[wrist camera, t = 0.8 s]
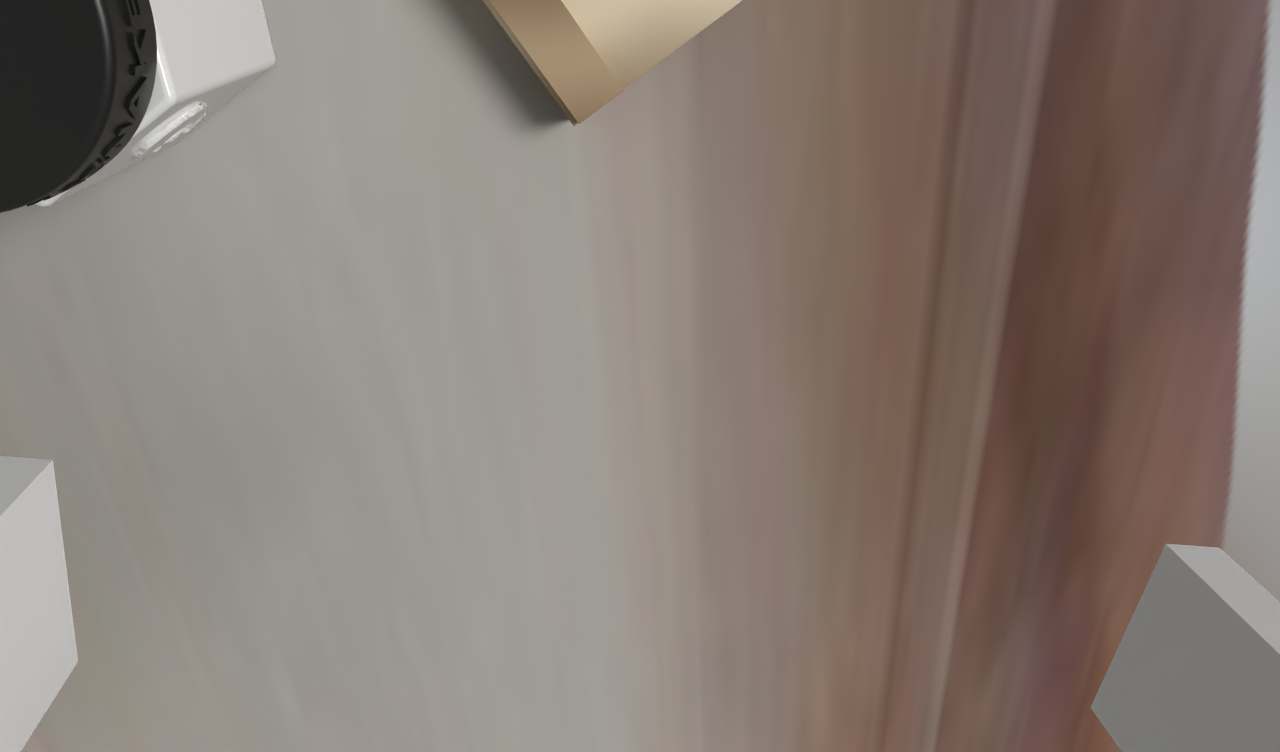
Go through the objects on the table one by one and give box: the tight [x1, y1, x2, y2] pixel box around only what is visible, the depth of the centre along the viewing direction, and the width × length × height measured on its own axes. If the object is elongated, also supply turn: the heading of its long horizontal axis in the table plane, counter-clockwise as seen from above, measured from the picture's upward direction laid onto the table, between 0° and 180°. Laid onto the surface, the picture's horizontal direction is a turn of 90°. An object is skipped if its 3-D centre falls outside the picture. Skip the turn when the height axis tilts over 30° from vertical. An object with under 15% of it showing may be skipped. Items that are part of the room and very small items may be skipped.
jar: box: [0, 0, 275, 213], centre depth 24 cm, size 9×8×12 cm
